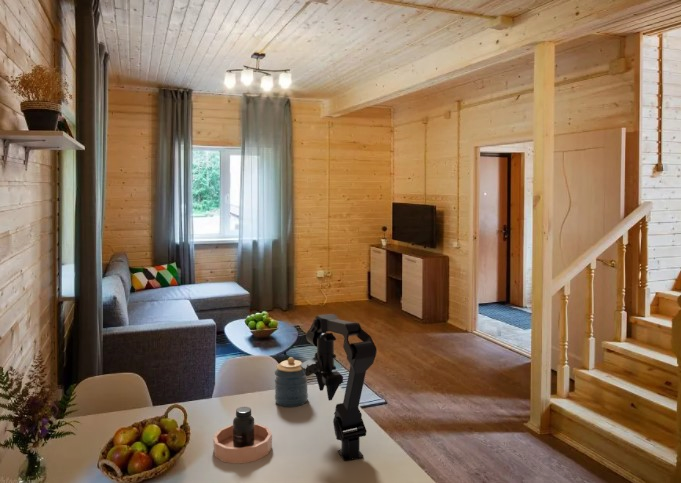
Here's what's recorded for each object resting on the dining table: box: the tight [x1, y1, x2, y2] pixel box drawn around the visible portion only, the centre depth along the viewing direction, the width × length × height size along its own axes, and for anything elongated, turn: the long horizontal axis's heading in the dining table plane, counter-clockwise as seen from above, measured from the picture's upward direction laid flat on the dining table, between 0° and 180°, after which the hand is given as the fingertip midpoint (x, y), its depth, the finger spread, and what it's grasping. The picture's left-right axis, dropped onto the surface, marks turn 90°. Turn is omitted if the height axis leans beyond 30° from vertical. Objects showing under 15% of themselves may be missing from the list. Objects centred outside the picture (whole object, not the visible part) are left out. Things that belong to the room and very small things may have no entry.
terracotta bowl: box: [212, 422, 273, 464], centre depth 172 cm, size 18×18×4 cm
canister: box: [274, 356, 309, 408], centre depth 210 cm, size 13×13×18 cm
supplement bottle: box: [232, 406, 255, 448], centre depth 172 cm, size 7×7×12 cm
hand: (325, 395), depth 183 cm, fingers open, 9 cm apart
